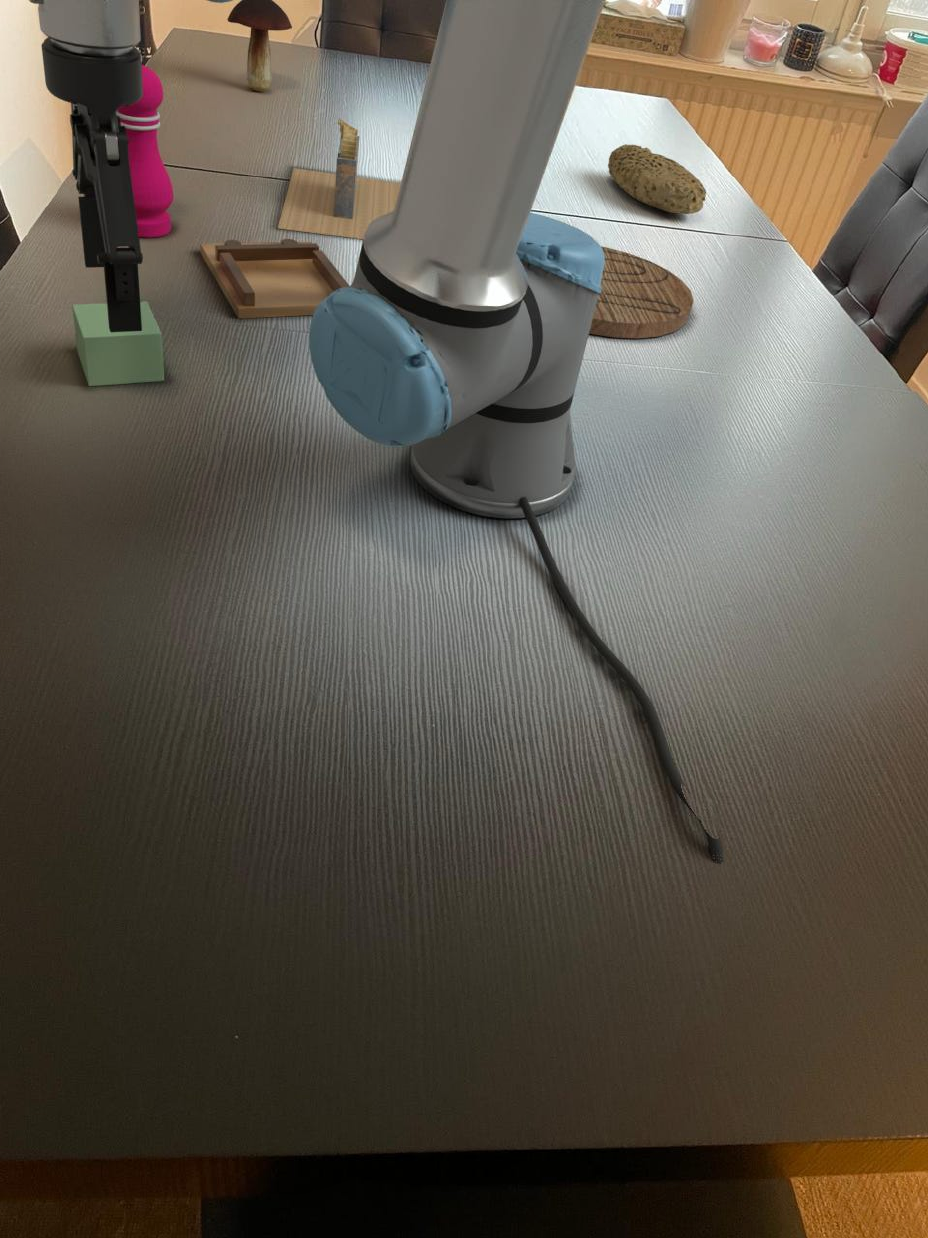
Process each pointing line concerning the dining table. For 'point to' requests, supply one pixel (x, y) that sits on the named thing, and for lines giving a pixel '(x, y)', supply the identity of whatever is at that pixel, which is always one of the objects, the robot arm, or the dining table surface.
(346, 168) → the architectural model on board
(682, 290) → the trivet
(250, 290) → the wooden tray
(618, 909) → the dining table surface
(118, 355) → the green block
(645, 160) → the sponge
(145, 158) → the pepper mill
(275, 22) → the decorative mushroom
